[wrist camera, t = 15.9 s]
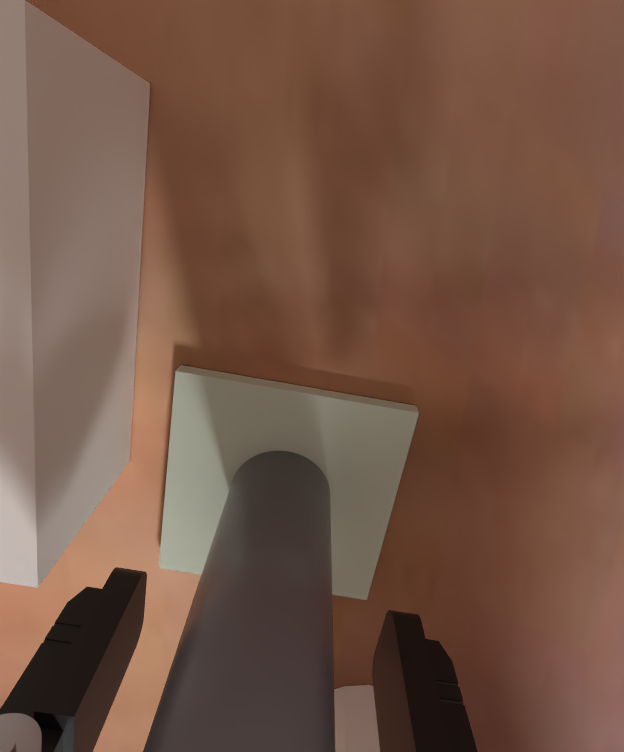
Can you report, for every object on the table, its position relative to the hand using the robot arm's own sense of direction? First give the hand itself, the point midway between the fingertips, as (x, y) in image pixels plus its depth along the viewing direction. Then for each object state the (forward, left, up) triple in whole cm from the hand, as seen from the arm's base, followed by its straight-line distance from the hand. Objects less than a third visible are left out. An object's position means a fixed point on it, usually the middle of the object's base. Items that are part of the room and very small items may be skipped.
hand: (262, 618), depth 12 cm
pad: (0, 0, -6) cm, 6 cm away
